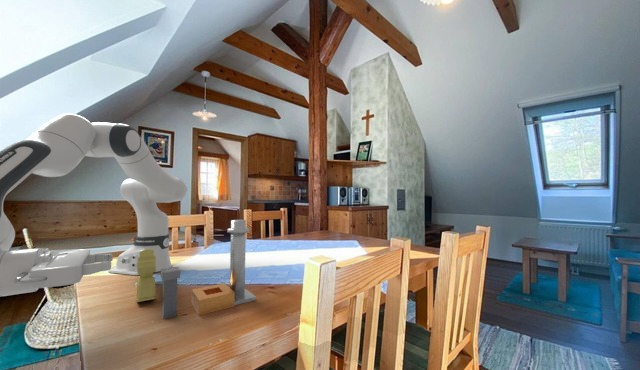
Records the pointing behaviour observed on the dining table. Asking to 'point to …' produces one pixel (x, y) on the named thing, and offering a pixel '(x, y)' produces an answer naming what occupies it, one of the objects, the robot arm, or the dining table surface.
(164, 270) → the grey square peg
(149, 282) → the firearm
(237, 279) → the metal post on base
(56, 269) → the robot arm
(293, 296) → the dining table surface
